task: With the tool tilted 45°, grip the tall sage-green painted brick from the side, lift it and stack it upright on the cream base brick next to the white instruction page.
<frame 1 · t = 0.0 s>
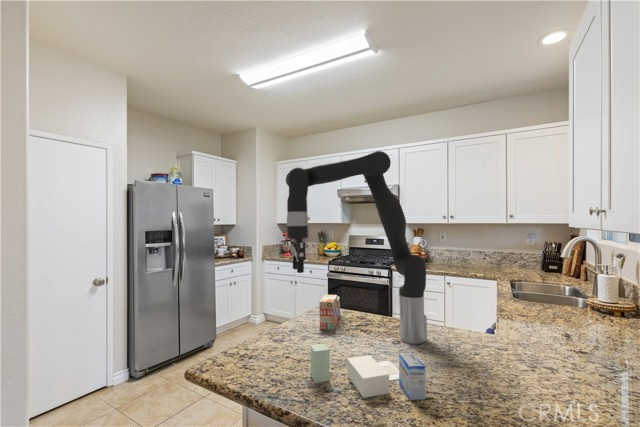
hand: (298, 270, 104), 29 cm above the counter, tool pointing down, fingers open, 8 cm apart
base brick: (367, 383, 84), on the counter
stack of blocks: (330, 322, 138), on the counter
sage brick: (320, 378, 88), on the counter
instruction page: (385, 371, 91), on the counter
medicine box: (412, 392, 80), on the counter
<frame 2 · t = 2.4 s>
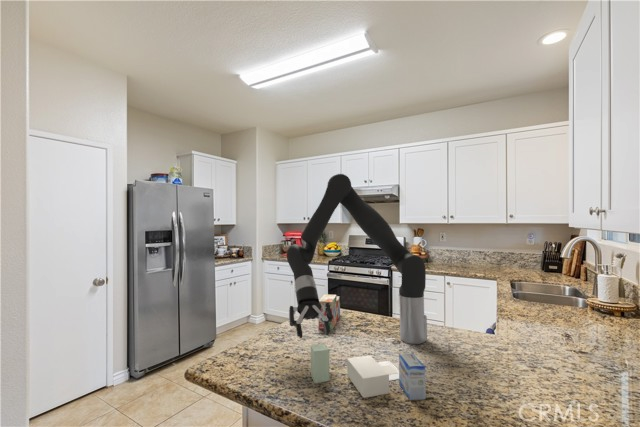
hand: (314, 335, 94), 10 cm above the counter, tool tilted 45°, fingers open, 8 cm apart
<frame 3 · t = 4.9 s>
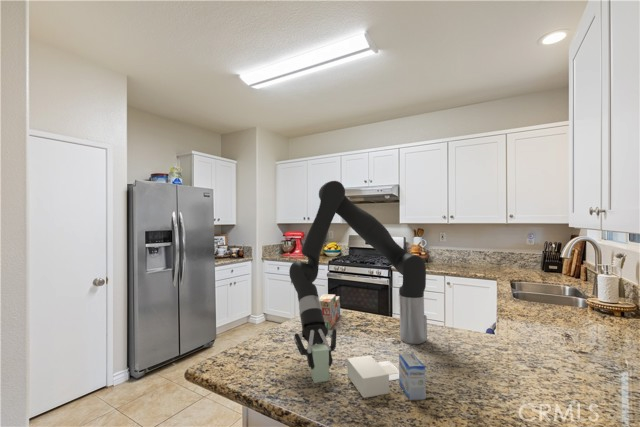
hand: (321, 366, 86), 4 cm above the counter, tool tilted 45°, fingers closed on sage brick, 4 cm apart
sage brick: (319, 377, 88), on the counter, touching gripper
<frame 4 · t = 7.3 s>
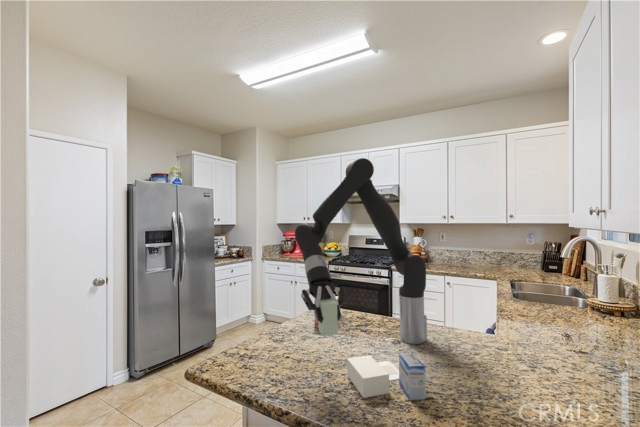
hand: (330, 320, 86), 18 cm above the counter, tool tilted 45°, fingers closed on sage brick, 4 cm apart
sage brick: (328, 332, 87), point 14 cm above the counter, touching gripper
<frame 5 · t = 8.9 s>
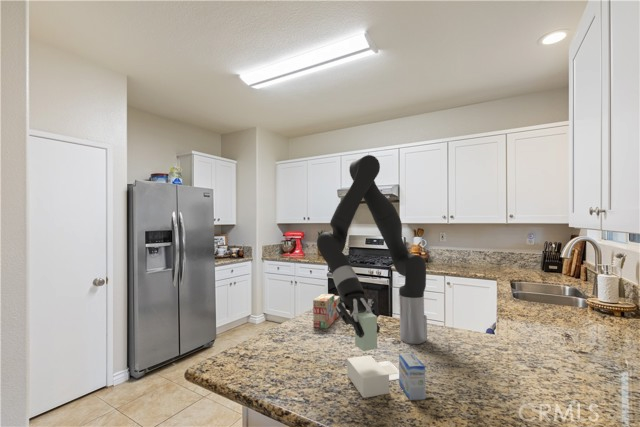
hand: (369, 334, 83), 14 cm above the counter, tool tilted 45°, fingers closed on sage brick, 4 cm apart
sage brick: (366, 346, 84), point 10 cm above the counter, touching gripper
when the fingers open (11 cm above the counter, at t = 10.1 s): sage brick drops 1 cm, resting on base brick.
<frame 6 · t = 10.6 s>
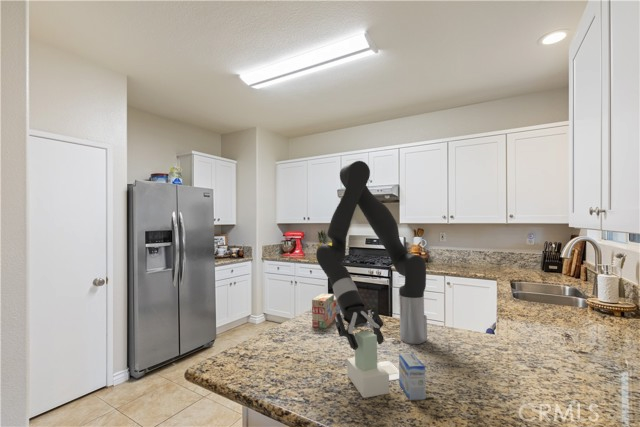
hand: (369, 345, 83), 11 cm above the counter, tool tilted 45°, fingers open, 8 cm apart
sage brick: (366, 366, 84), point 5 cm above the counter, touching base brick
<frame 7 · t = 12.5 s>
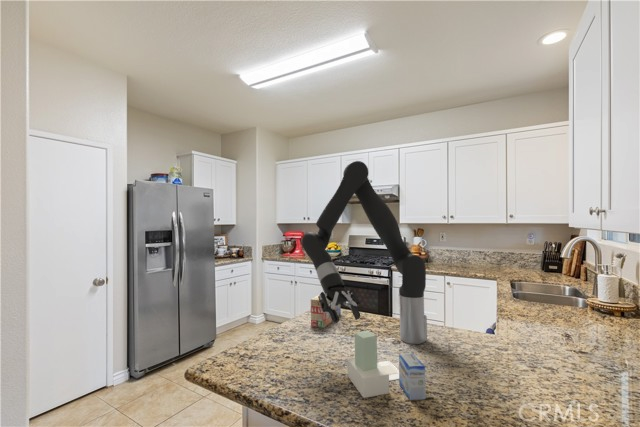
hand: (348, 320, 95), 14 cm above the counter, tool tilted 45°, fingers open, 8 cm apart
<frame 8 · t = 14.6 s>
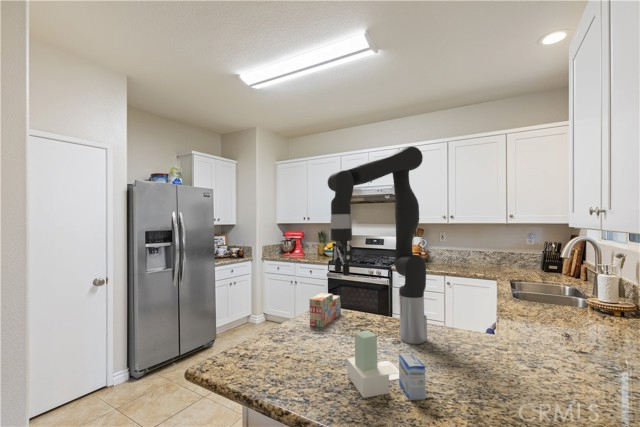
hand: (341, 273, 104), 28 cm above the counter, tool pointing down, fingers open, 8 cm apart
at the end: sage brick inside the target area on the base brick (0.2 cm from its centre), point 5.0 cm above the base brick's base; sage brick tilted 0°; the gripper is holding nothing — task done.
